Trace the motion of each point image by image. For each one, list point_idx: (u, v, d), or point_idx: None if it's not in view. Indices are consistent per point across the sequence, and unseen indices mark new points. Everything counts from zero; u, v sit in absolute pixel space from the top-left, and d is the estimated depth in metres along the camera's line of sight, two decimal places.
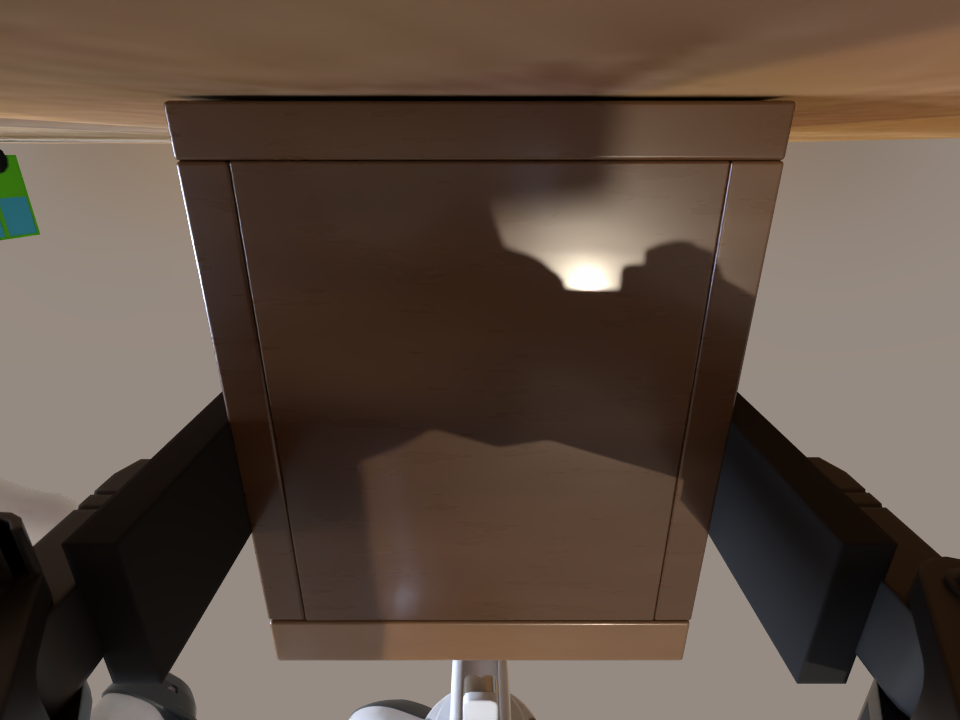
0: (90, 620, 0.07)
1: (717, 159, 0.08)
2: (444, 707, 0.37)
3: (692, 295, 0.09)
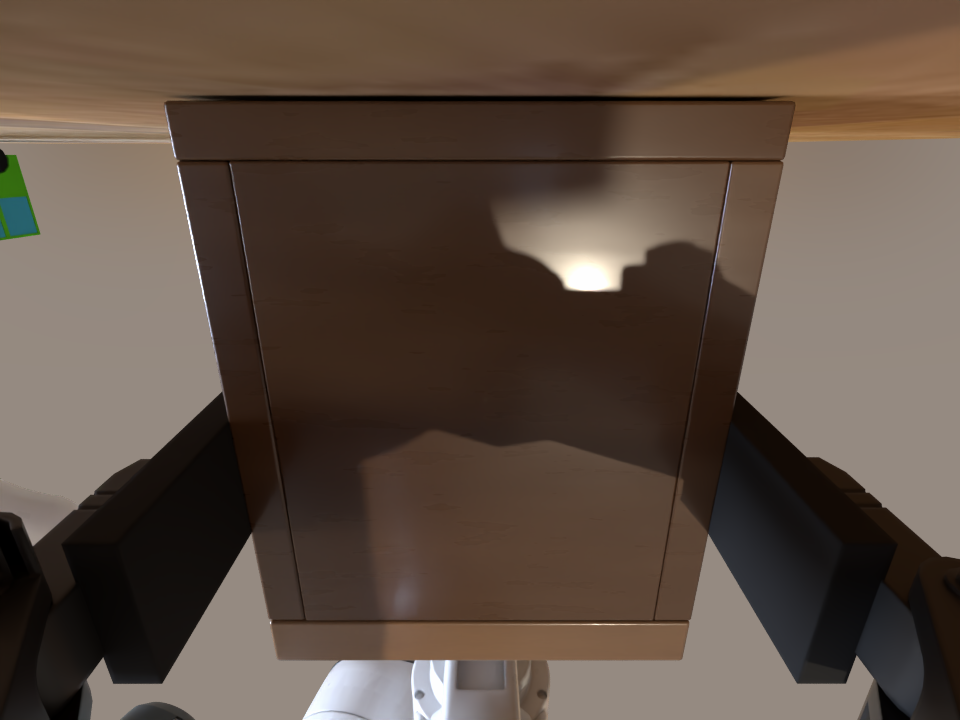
0: (90, 620, 0.07)
1: (717, 159, 0.08)
2: None
3: (692, 295, 0.09)
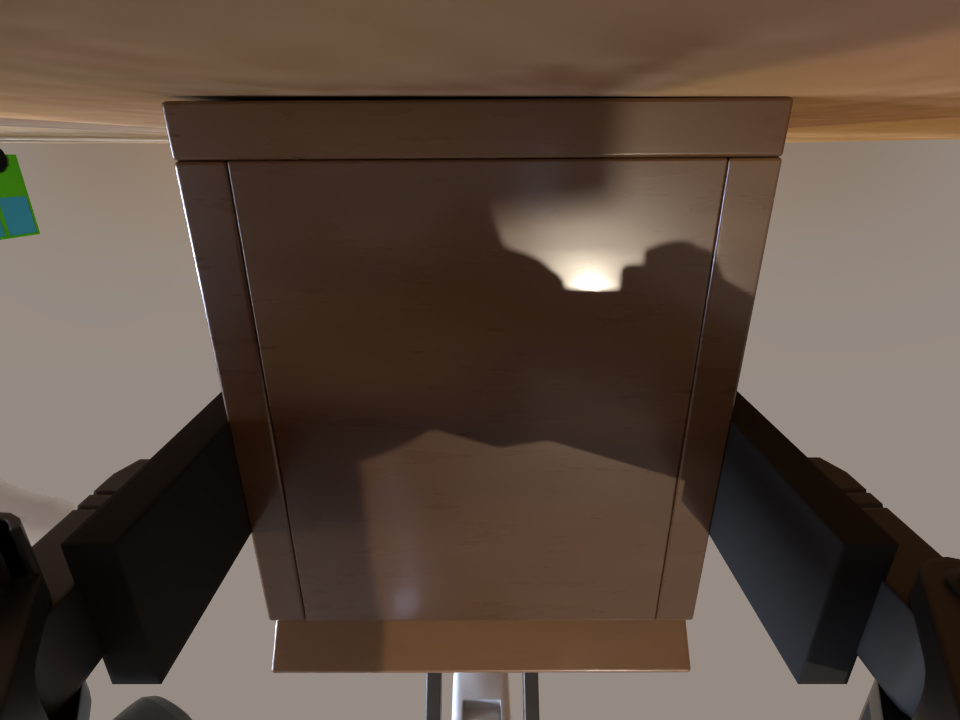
0: (89, 620, 0.07)
1: (715, 156, 0.08)
2: None
3: (691, 292, 0.09)
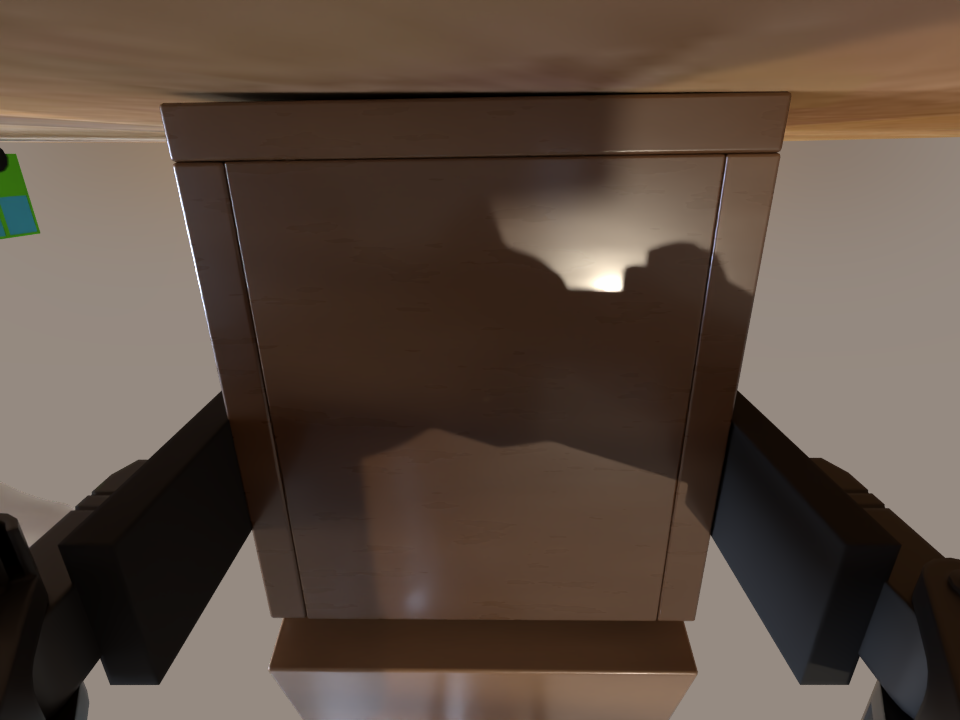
0: (87, 621, 0.07)
1: (712, 152, 0.08)
2: None
3: (689, 290, 0.09)
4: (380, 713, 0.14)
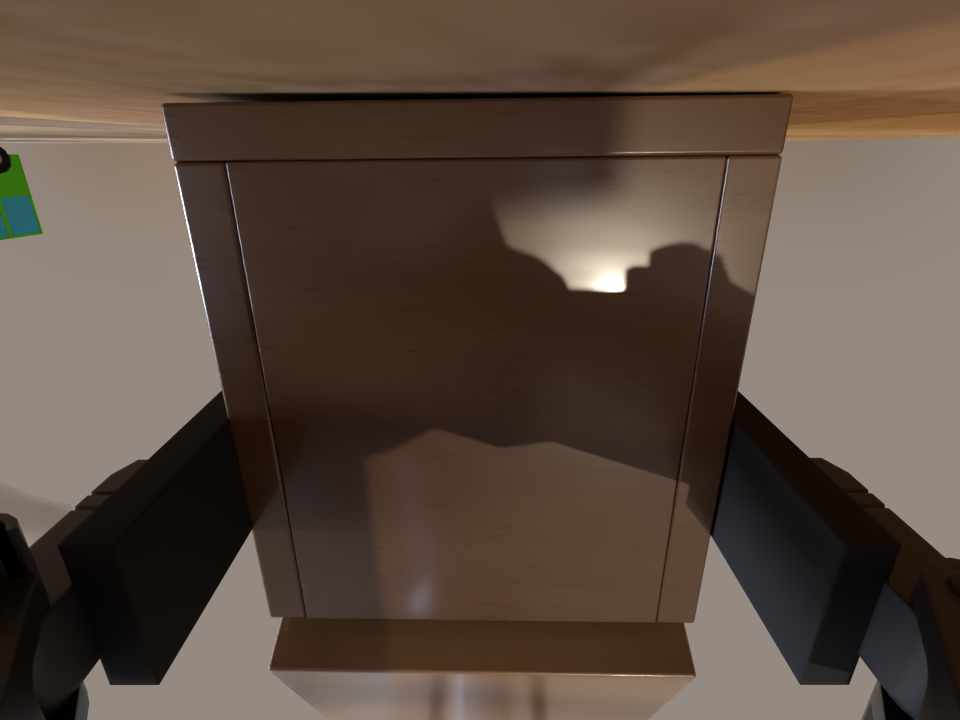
0: (87, 621, 0.07)
1: (713, 154, 0.08)
2: None
3: (690, 292, 0.09)
4: (381, 698, 0.14)
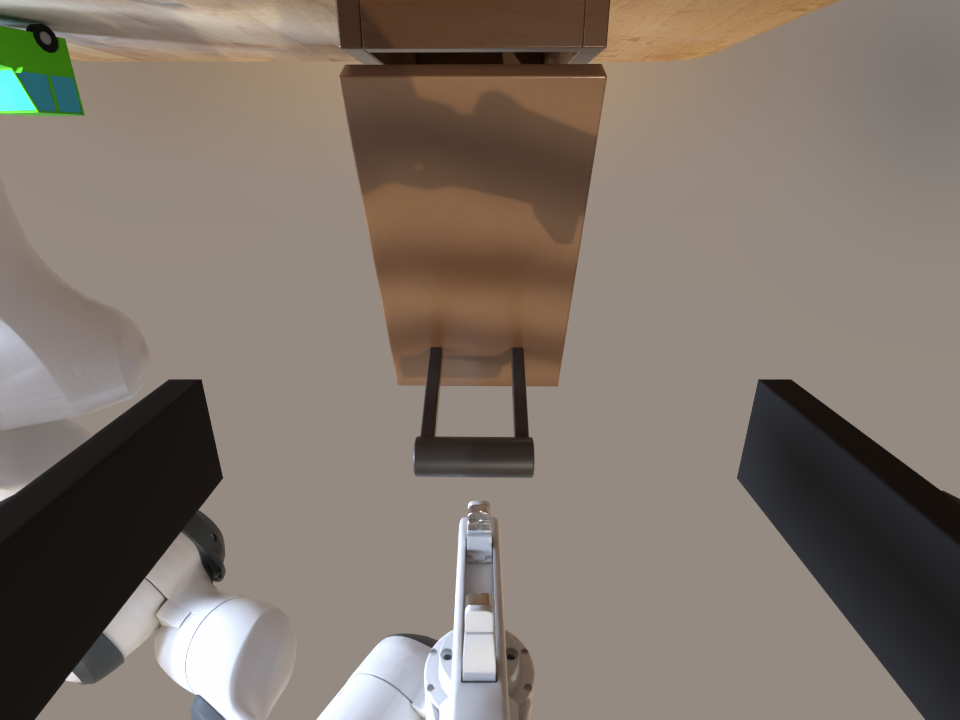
0: None
1: None
2: (448, 638, 0.43)
3: None
4: (407, 150, 0.21)
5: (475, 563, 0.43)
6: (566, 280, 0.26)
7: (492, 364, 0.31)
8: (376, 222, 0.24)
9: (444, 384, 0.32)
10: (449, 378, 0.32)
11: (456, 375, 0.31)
